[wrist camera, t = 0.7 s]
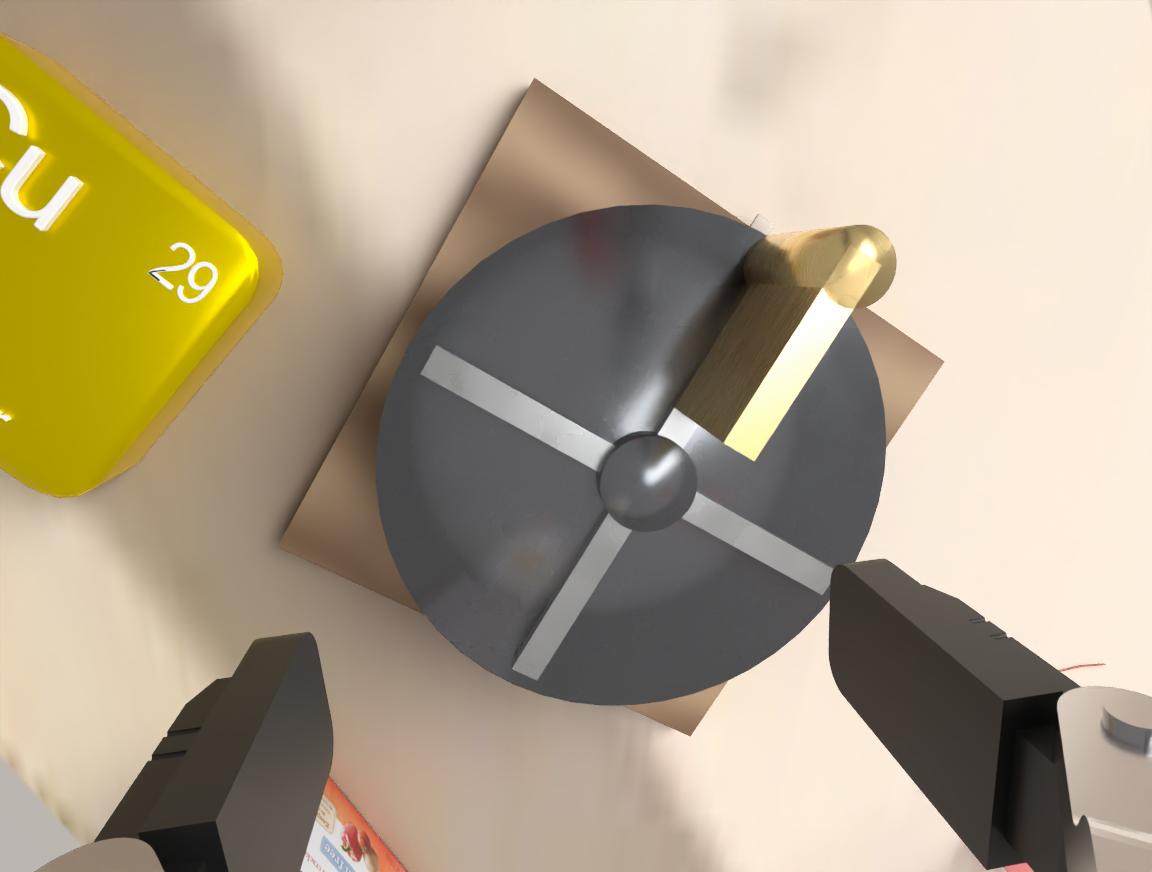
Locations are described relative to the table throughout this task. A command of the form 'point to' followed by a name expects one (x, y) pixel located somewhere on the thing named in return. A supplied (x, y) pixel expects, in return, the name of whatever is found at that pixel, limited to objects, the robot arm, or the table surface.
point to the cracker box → (345, 840)
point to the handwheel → (637, 448)
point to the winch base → (486, 223)
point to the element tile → (106, 281)
